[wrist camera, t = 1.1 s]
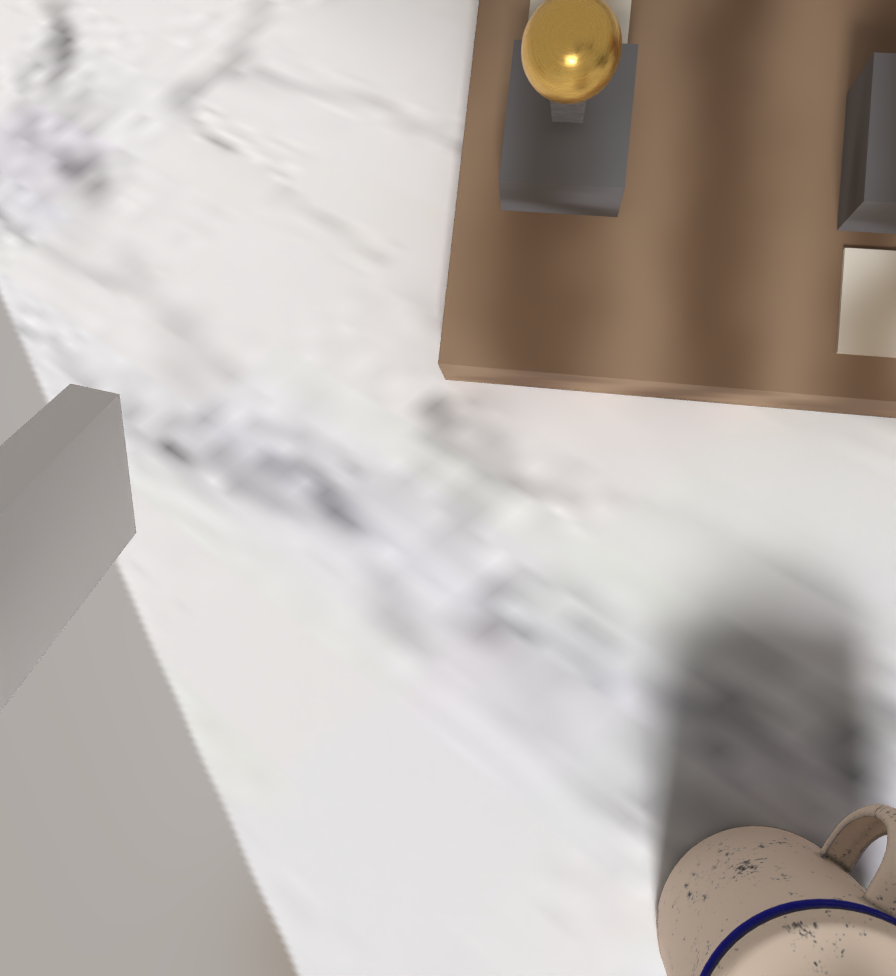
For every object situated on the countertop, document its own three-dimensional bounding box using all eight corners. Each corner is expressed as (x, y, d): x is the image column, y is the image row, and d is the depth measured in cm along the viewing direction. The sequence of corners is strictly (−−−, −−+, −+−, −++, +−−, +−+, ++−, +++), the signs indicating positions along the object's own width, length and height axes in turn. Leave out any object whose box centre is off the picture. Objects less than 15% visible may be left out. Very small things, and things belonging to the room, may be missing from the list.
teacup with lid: (804, 1088, 33) (952, 1373, 21) (609, 959, 34) (650, 1163, 22) (946, 835, 33) (1168, 980, 22) (749, 717, 34) (859, 794, 23)
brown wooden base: (991, -8, 36) (1077, -113, 31) (967, 424, 35) (1052, 396, 29) (490, -21, 39) (483, -121, 33) (445, 379, 37) (430, 346, 31)
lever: (609, 67, 30) (632, -24, 20) (601, 146, 31) (618, 96, 21) (536, 64, 31) (523, -26, 21) (529, 142, 32) (514, 91, 21)
